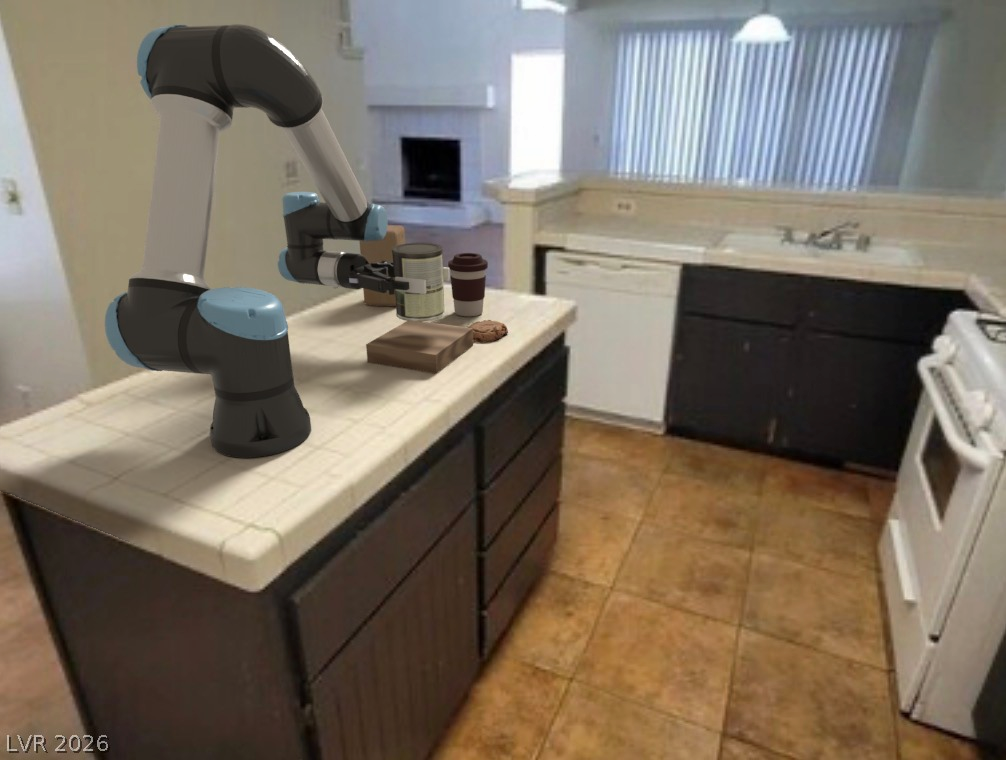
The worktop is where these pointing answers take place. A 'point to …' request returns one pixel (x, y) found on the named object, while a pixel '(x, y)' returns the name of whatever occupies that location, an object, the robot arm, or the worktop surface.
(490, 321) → the cookie
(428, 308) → the coffee can
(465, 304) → the coffee cup
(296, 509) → the worktop surface
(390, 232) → the wooden block
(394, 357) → the walnut base block
